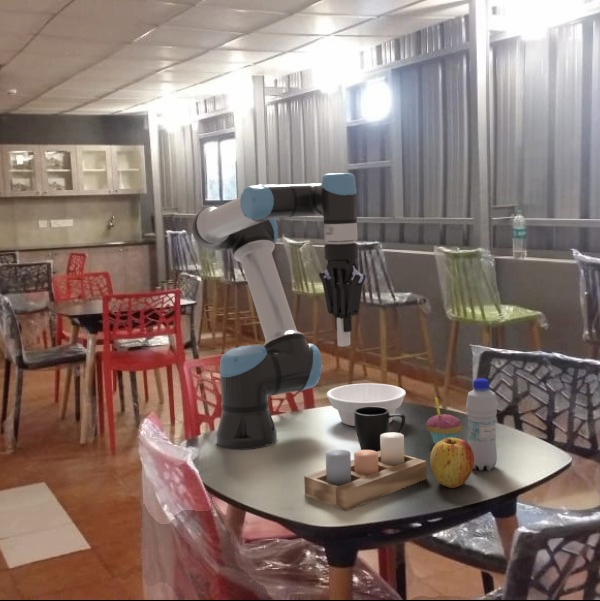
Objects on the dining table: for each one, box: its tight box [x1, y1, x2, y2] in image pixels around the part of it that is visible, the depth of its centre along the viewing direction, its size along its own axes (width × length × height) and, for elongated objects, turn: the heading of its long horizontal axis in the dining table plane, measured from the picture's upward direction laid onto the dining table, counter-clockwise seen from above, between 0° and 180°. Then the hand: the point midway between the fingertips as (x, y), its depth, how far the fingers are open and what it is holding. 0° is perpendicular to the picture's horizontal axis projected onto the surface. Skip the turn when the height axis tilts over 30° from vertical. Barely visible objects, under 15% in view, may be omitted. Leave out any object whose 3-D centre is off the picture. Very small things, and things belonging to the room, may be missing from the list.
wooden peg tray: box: [303, 451, 428, 511], centre depth 171 cm, size 12×24×4 cm, turn 131°
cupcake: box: [425, 394, 463, 445], centre depth 198 cm, size 9×8×12 cm
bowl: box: [326, 382, 407, 427], centre depth 219 cm, size 21×21×8 cm
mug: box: [354, 406, 406, 452], centre depth 195 cm, size 8×12×10 cm
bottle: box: [465, 377, 498, 471], centre depth 180 cm, size 7×7×20 cm
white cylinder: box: [380, 431, 405, 466], centre depth 176 cm, size 5×5×6 cm
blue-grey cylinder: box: [325, 449, 352, 486], centre depth 166 cm, size 5×5×6 cm
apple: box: [429, 437, 474, 489], centre depth 171 cm, size 9×9×10 cm
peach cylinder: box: [353, 449, 379, 476], centre depth 171 cm, size 5×5×6 cm
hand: (344, 345), depth 188 cm, fingers closed
